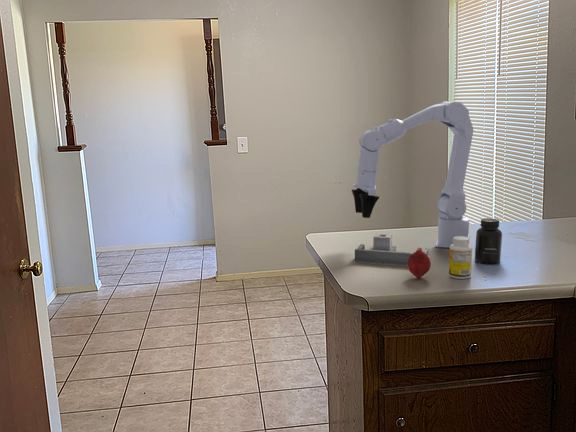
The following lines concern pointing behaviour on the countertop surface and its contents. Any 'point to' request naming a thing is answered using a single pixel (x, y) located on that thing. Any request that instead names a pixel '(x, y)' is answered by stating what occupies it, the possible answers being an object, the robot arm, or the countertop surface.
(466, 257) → the supplement bottle
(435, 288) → the countertop surface
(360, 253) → the bracket
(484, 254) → the supplement bottle
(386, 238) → the block
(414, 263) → the onion
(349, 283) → the countertop surface
